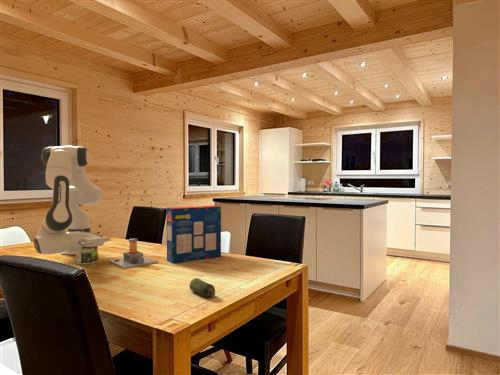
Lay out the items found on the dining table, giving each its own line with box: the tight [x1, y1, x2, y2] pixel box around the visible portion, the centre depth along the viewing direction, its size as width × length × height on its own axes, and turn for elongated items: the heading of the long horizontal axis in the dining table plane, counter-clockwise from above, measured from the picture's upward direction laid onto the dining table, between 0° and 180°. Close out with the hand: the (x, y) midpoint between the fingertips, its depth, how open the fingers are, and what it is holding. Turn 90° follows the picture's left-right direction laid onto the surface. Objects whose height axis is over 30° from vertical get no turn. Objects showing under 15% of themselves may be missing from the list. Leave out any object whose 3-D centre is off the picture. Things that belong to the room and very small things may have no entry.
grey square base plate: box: [108, 250, 159, 270], centre depth 177 cm, size 18×18×5 cm
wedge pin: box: [128, 238, 138, 254], centre depth 177 cm, size 4×4×11 cm
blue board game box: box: [166, 205, 222, 264], centre depth 186 cm, size 28×8×28 cm, turn 124°
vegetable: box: [189, 277, 216, 299], centre depth 127 cm, size 14×5×5 cm, turn 39°
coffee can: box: [75, 233, 99, 265], centre depth 178 cm, size 10×10×14 cm
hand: (106, 237), depth 168 cm, fingers open, 8 cm apart
